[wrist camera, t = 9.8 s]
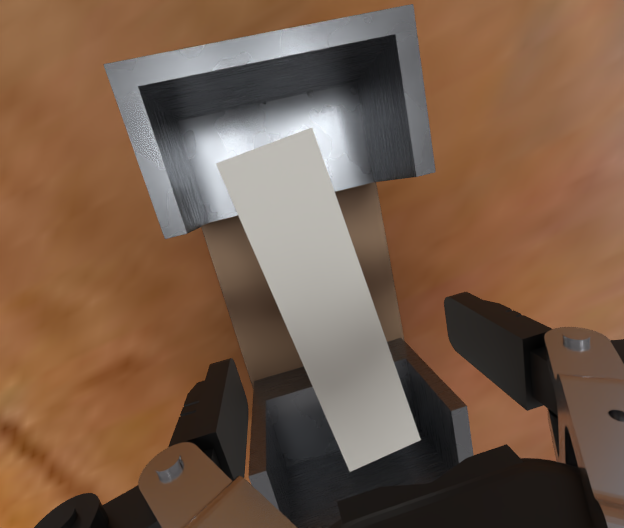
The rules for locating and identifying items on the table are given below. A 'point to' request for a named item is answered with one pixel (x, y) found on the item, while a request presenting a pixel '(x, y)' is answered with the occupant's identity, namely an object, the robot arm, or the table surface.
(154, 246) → the table surface
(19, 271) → the table surface
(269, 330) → the plank
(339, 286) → the block
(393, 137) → the grey boxes
